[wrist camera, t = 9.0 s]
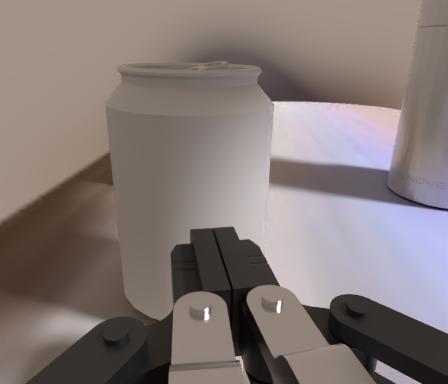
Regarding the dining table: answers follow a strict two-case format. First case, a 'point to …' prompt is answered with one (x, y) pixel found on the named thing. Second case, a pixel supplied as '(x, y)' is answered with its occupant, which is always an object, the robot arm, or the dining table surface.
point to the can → (185, 165)
